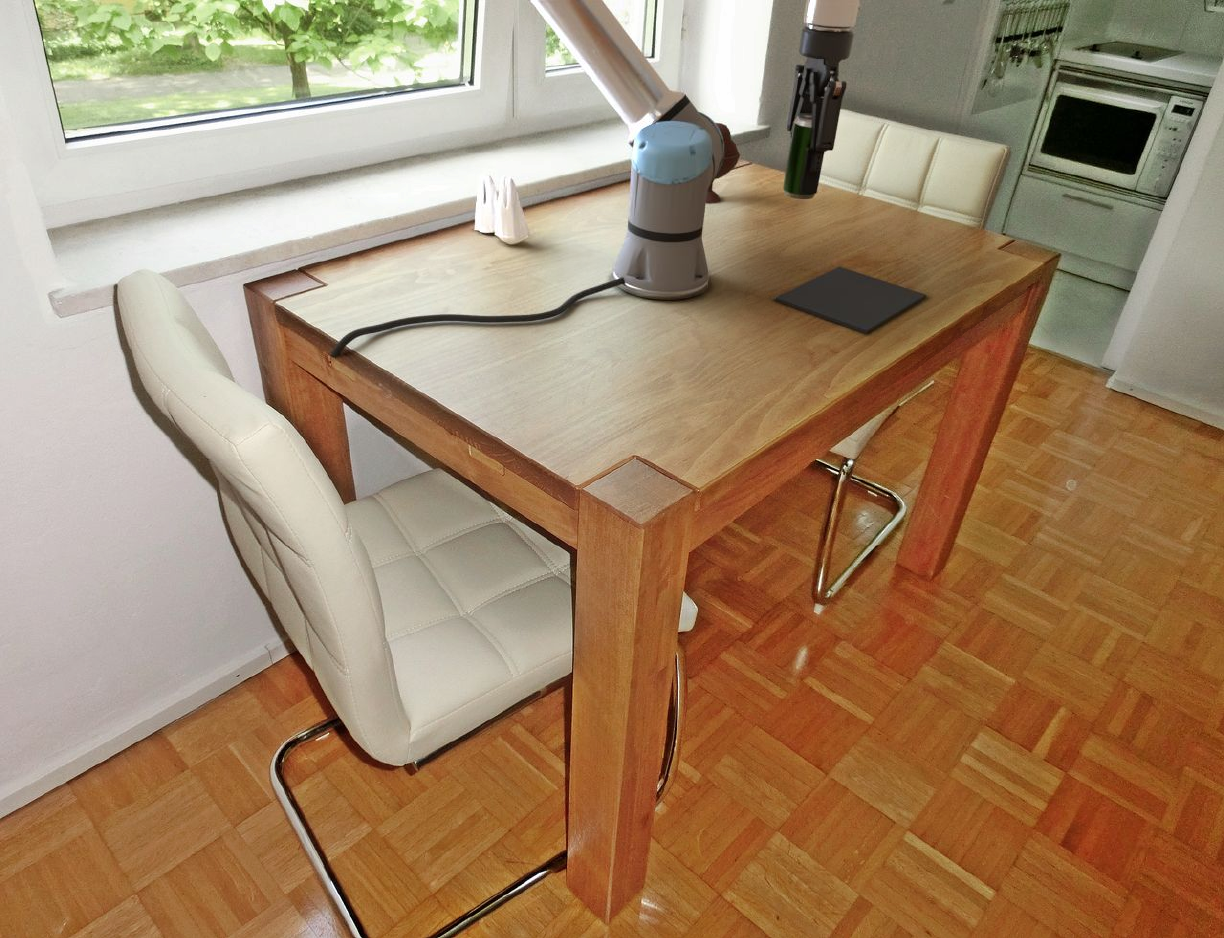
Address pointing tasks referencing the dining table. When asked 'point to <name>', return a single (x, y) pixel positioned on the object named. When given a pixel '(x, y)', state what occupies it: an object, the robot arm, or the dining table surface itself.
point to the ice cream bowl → (724, 161)
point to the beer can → (798, 156)
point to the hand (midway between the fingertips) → (800, 186)
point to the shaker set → (500, 211)
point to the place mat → (851, 299)
